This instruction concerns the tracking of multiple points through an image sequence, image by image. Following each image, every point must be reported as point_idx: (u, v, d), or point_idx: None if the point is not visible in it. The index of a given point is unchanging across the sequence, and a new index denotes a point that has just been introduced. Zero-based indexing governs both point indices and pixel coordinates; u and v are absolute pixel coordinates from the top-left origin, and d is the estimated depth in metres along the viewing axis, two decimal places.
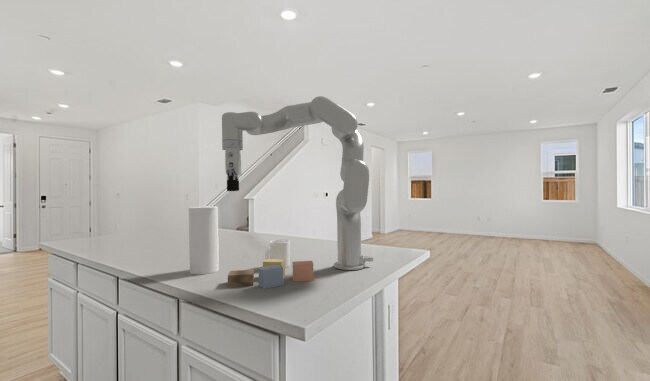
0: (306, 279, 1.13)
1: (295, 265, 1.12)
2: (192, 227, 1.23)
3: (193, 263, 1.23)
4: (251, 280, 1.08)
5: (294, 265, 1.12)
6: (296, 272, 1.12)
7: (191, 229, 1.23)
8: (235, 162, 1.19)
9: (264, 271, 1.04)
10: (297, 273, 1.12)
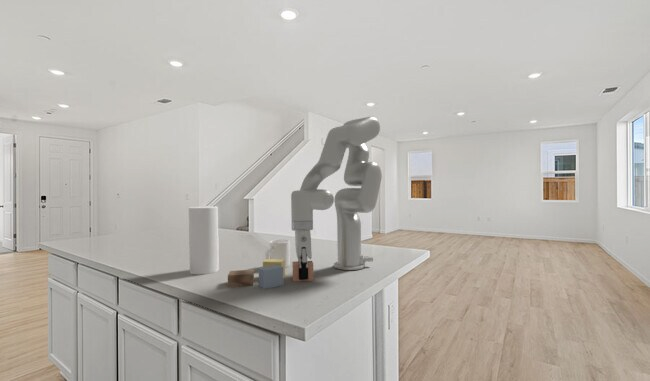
0: (306, 279, 1.13)
1: (295, 265, 1.12)
2: (192, 227, 1.23)
3: (193, 263, 1.23)
4: (251, 280, 1.08)
5: (294, 265, 1.12)
6: (296, 272, 1.12)
7: (191, 229, 1.23)
8: (308, 246, 1.10)
9: (264, 271, 1.04)
10: (297, 273, 1.12)
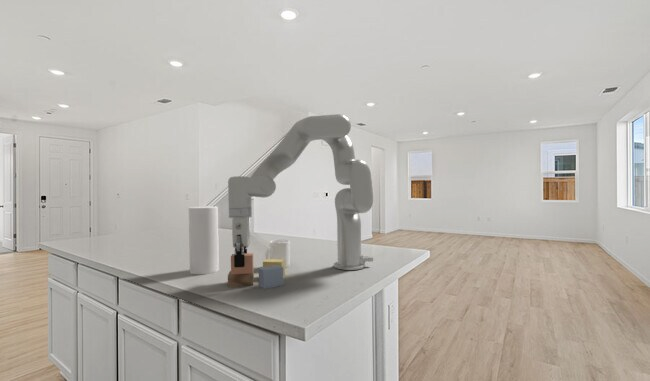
0: (245, 272, 1.09)
1: (233, 257, 1.08)
2: (192, 227, 1.23)
3: (193, 263, 1.23)
4: (251, 280, 1.08)
5: (232, 257, 1.08)
6: (233, 265, 1.08)
7: (191, 229, 1.23)
8: (243, 234, 1.05)
9: (264, 271, 1.04)
10: None
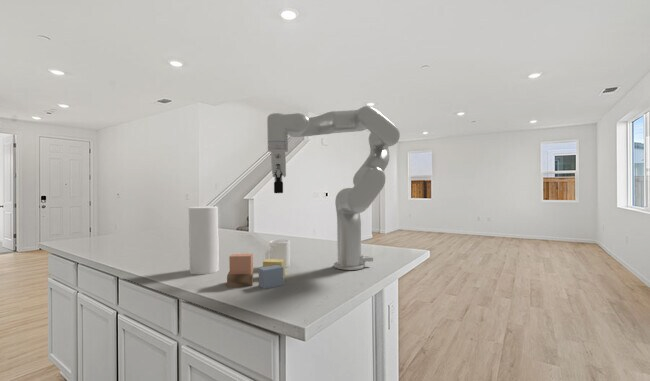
0: (243, 272, 1.08)
1: (231, 257, 1.08)
2: (192, 227, 1.23)
3: (193, 263, 1.23)
4: (250, 280, 1.08)
5: (230, 257, 1.08)
6: (232, 265, 1.08)
7: (191, 229, 1.23)
8: (282, 164, 1.18)
9: (264, 271, 1.04)
10: (234, 266, 1.08)
